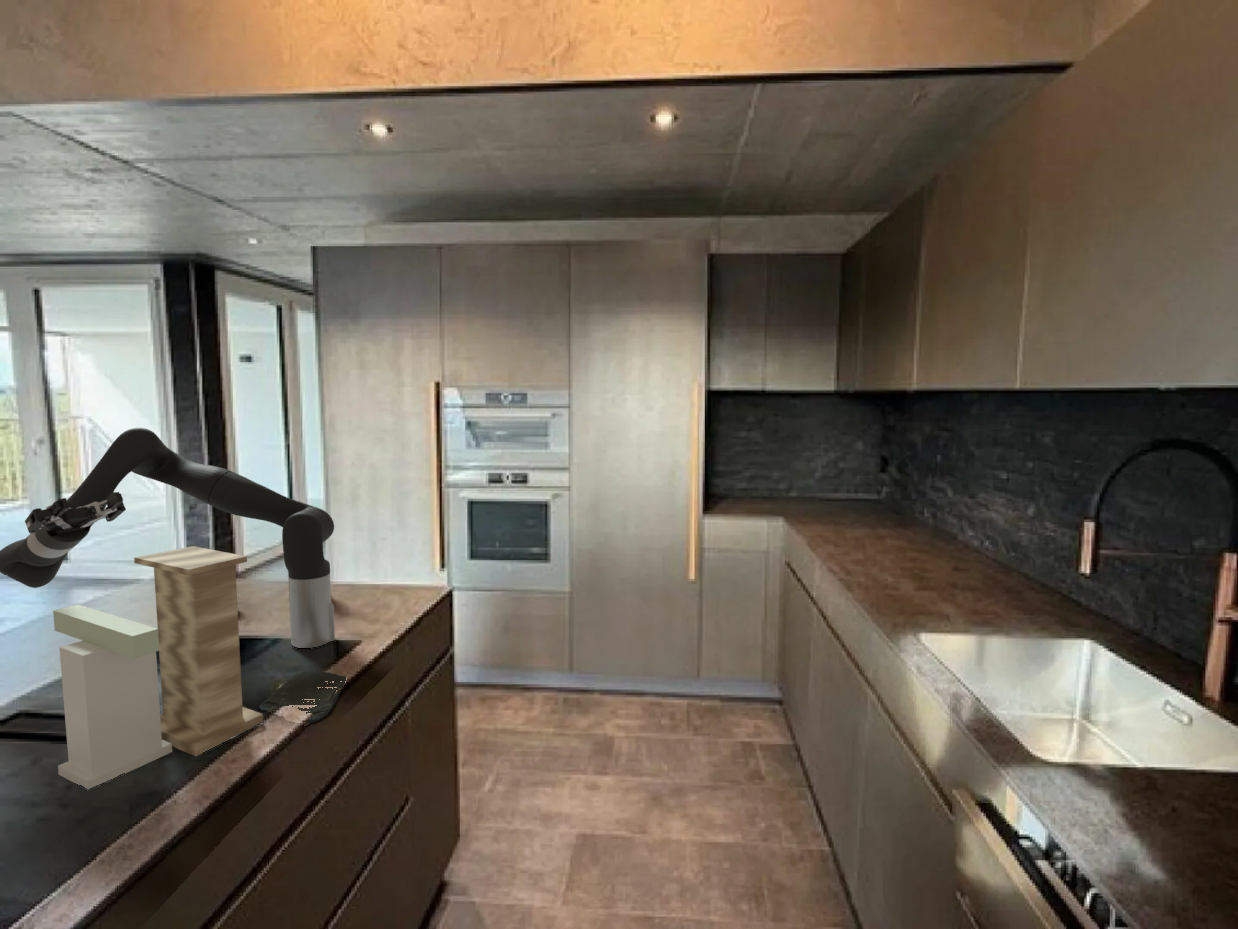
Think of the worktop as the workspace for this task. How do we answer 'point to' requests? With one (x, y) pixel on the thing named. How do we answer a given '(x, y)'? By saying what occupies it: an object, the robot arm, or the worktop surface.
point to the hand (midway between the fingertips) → (92, 498)
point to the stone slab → (308, 692)
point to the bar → (107, 630)
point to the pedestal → (109, 713)
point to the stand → (199, 647)
